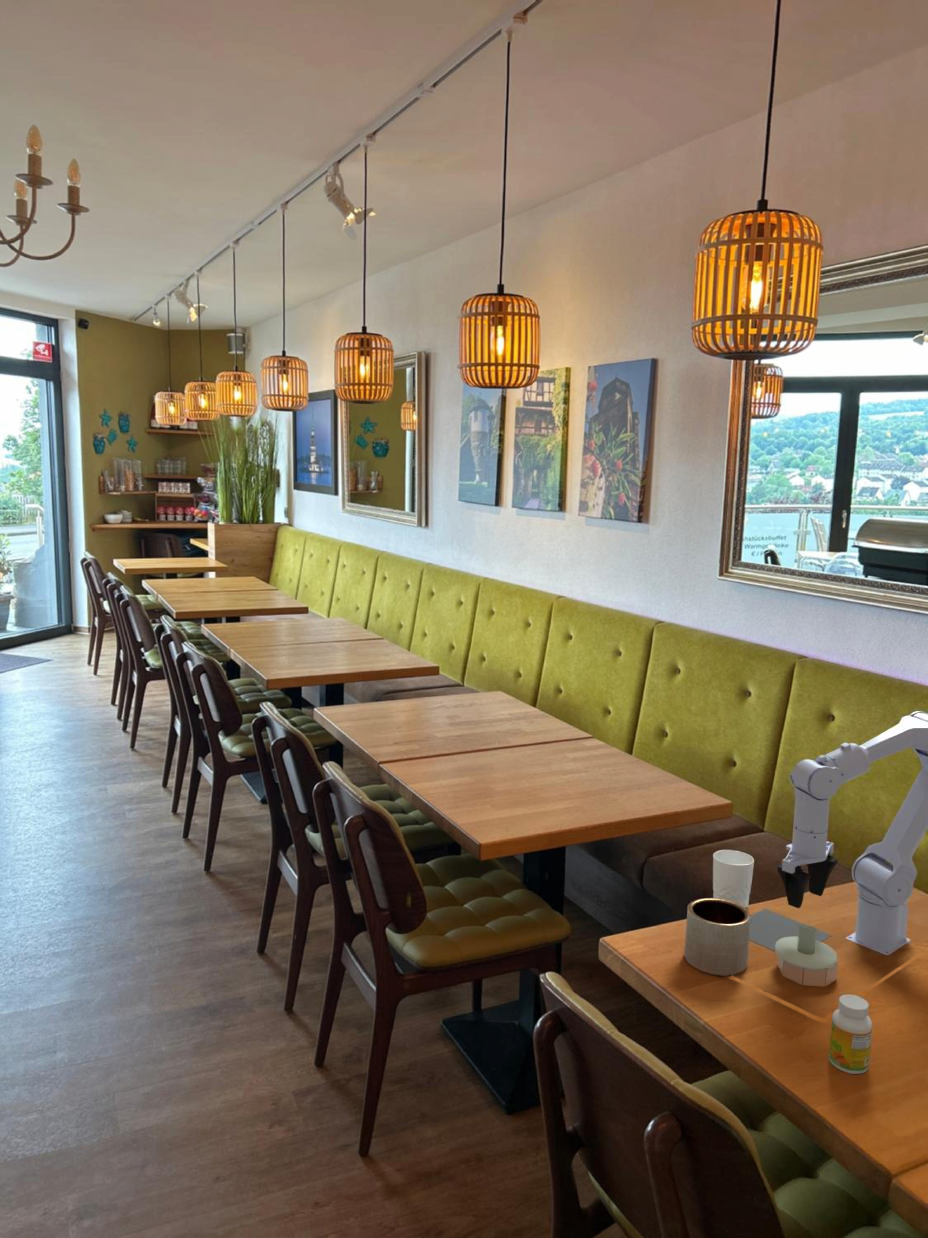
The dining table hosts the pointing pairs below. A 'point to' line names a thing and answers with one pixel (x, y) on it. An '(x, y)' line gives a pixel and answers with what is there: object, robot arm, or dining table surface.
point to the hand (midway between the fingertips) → (805, 900)
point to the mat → (775, 928)
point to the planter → (717, 936)
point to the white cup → (732, 876)
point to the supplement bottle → (851, 1035)
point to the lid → (806, 950)
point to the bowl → (807, 974)
